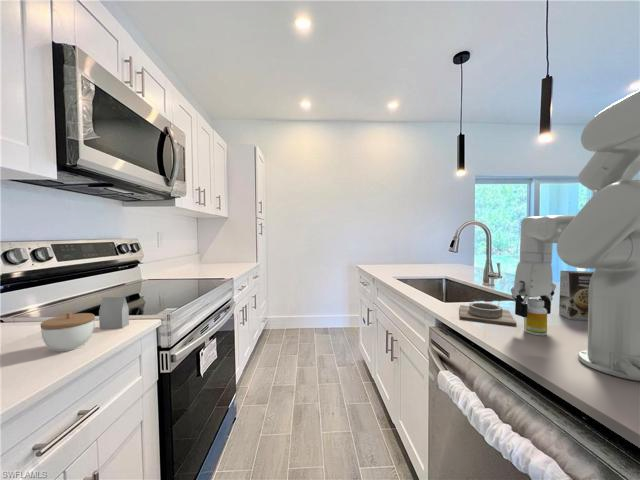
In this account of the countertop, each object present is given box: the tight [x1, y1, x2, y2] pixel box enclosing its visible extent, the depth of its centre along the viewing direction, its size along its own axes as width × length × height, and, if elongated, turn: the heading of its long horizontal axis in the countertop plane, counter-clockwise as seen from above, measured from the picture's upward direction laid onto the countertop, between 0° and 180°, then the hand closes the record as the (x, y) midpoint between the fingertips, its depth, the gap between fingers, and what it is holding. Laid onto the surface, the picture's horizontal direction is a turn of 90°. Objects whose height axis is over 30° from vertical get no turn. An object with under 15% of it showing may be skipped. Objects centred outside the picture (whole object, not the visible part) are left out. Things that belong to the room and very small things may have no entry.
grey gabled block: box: [98, 296, 130, 330], centre depth 89 cm, size 4×7×10 cm, turn 97°
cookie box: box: [558, 270, 594, 321], centre depth 94 cm, size 9×6×16 cm
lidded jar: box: [40, 311, 96, 353], centre depth 73 cm, size 11×11×9 cm
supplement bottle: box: [523, 298, 548, 336], centre depth 81 cm, size 5×5×10 cm
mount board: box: [459, 302, 517, 327], centre depth 97 cm, size 16×16×4 cm
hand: (532, 314), depth 82 cm, fingers open, 9 cm apart
